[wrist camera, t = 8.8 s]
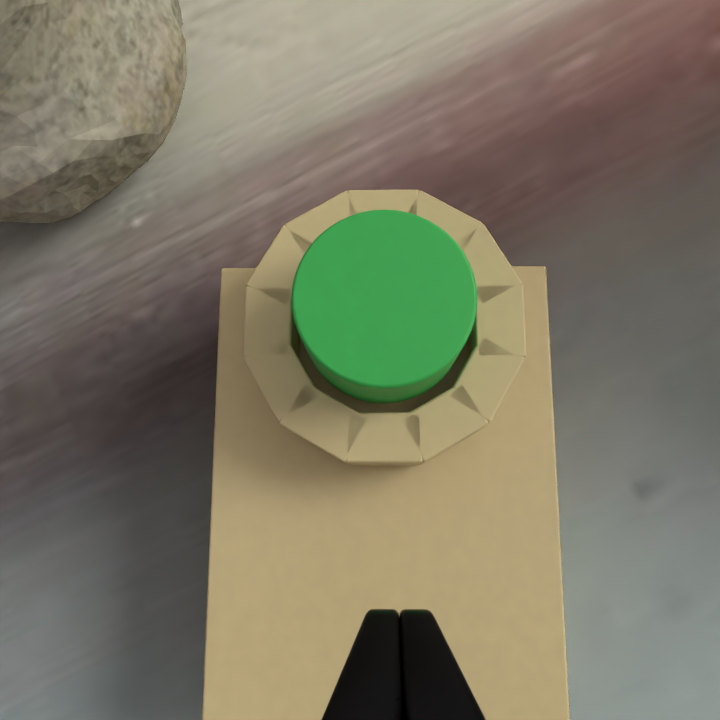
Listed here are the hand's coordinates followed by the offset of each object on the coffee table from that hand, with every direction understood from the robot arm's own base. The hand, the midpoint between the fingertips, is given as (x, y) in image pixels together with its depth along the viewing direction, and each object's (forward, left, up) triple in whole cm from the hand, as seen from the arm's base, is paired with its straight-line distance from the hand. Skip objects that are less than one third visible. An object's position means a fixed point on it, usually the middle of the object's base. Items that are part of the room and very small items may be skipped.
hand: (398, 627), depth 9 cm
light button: (+3, +5, -7) cm, 9 cm away
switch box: (+1, +2, -13) cm, 13 cm away
